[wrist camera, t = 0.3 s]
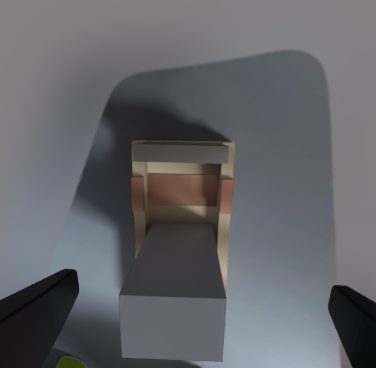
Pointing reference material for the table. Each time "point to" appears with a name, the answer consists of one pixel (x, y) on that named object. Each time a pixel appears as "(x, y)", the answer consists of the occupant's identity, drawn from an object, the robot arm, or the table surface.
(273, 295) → the table surface
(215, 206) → the sleeve track
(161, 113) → the table surface
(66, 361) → the vape
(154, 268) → the grey rectangular box
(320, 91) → the table surface
